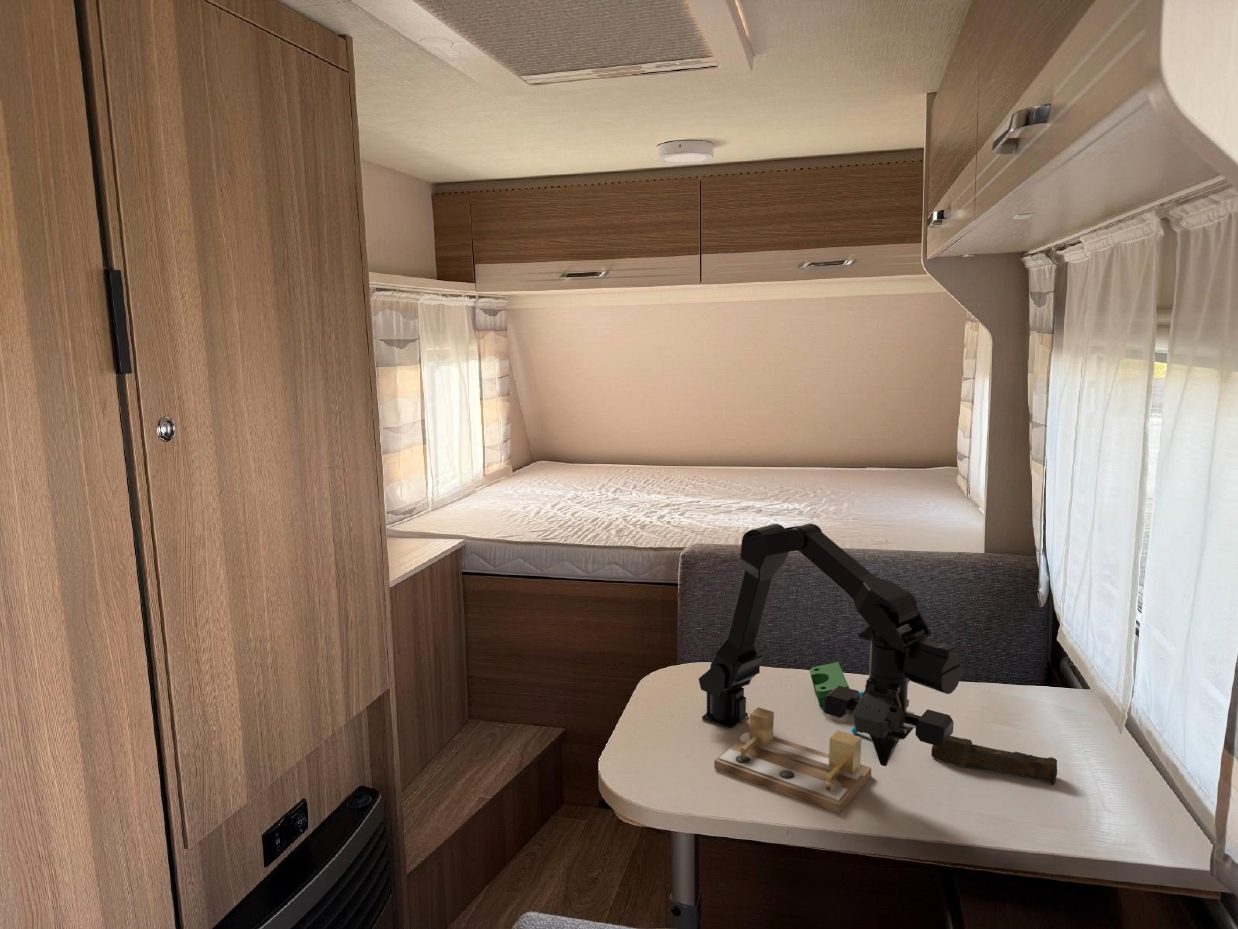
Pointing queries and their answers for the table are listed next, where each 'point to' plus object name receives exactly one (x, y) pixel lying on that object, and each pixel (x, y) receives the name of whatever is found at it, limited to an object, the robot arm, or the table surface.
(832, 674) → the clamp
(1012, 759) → the hand tool
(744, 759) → the wooden base with blocks
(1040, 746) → the table surface
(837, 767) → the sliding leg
